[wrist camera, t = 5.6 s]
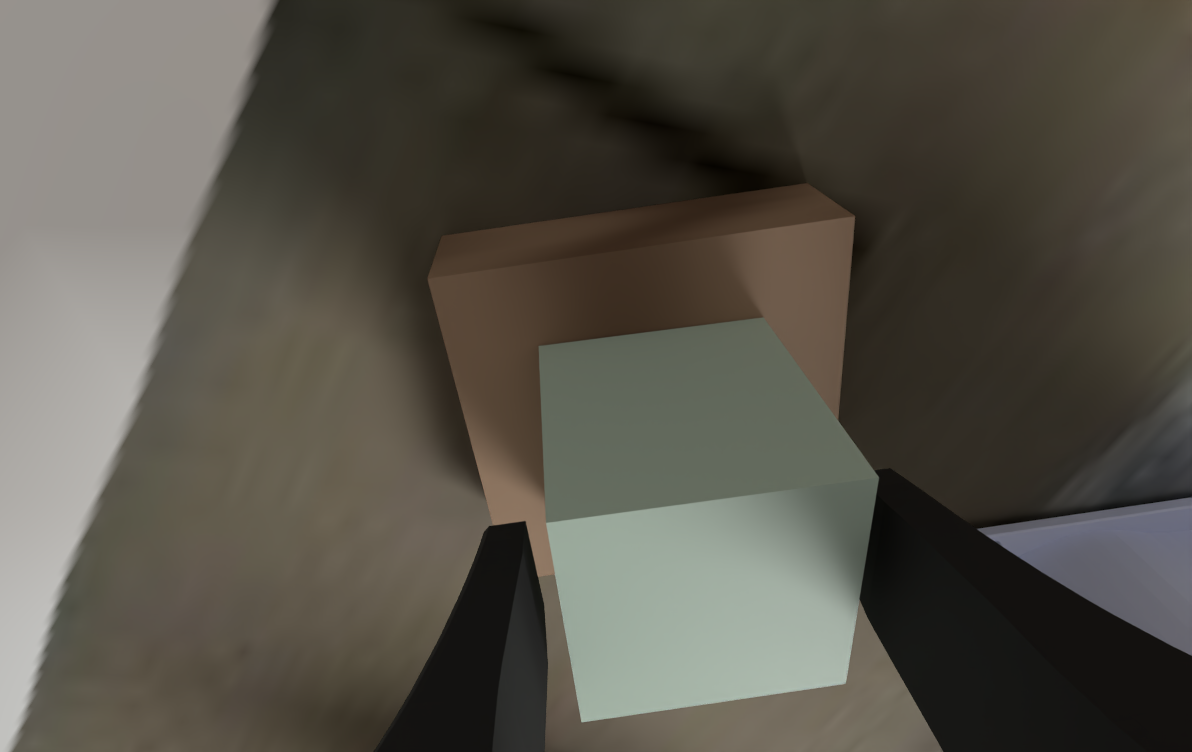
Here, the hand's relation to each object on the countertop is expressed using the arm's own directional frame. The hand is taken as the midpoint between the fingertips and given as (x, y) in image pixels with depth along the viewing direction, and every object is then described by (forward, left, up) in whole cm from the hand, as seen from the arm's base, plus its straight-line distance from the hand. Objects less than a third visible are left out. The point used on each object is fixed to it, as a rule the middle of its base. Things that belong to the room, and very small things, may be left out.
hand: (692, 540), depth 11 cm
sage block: (0, 0, -3) cm, 3 cm away
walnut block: (0, 0, -6) cm, 6 cm away
